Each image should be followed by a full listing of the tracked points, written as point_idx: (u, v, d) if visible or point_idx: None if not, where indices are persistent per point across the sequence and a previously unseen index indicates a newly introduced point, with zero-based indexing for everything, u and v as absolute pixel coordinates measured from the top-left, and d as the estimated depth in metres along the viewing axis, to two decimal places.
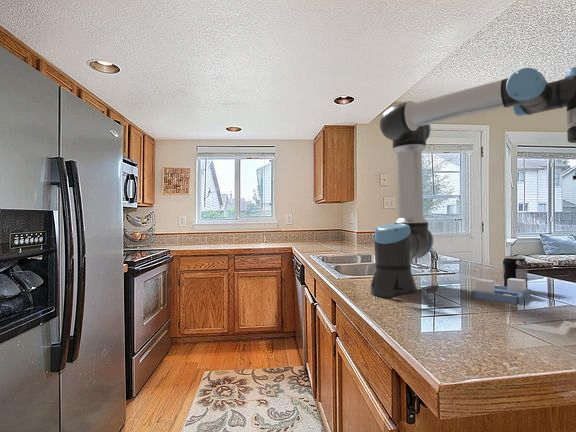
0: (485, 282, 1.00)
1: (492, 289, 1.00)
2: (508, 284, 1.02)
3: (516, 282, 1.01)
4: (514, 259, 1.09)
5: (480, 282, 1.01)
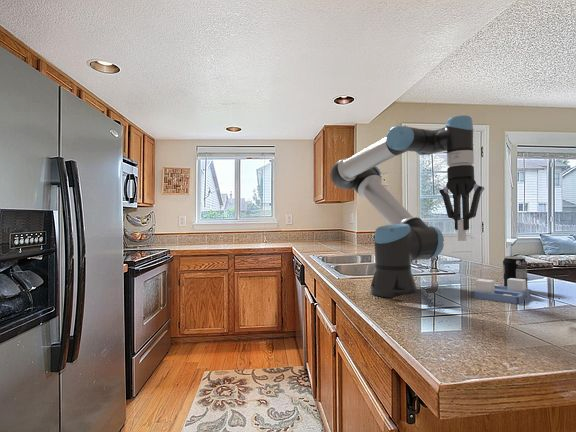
0: (485, 282, 1.00)
1: (492, 289, 1.00)
2: (508, 284, 1.02)
3: (516, 282, 1.01)
4: (514, 259, 1.09)
5: (480, 282, 1.01)
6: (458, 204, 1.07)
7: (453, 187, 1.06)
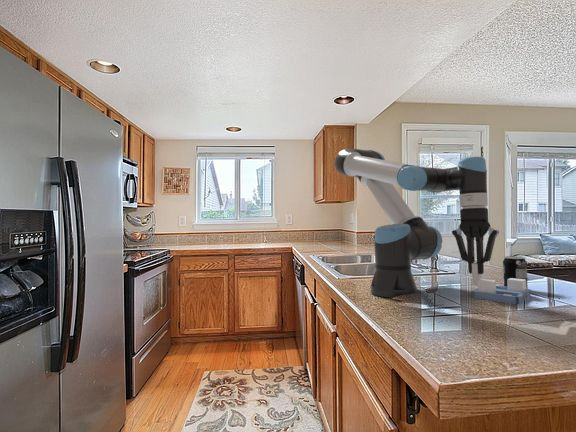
0: (486, 282, 1.00)
1: (494, 289, 1.00)
2: (508, 284, 1.02)
3: (516, 282, 1.01)
4: (514, 259, 1.09)
5: (481, 282, 1.01)
6: (472, 246, 1.04)
7: (467, 229, 1.03)
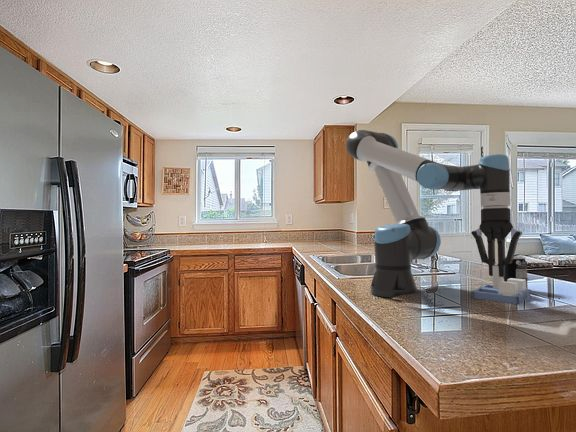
0: (508, 285, 0.96)
1: (515, 292, 0.96)
2: None
3: (516, 282, 1.01)
4: (514, 259, 1.09)
5: (503, 285, 0.97)
6: (493, 248, 1.00)
7: (488, 230, 0.99)
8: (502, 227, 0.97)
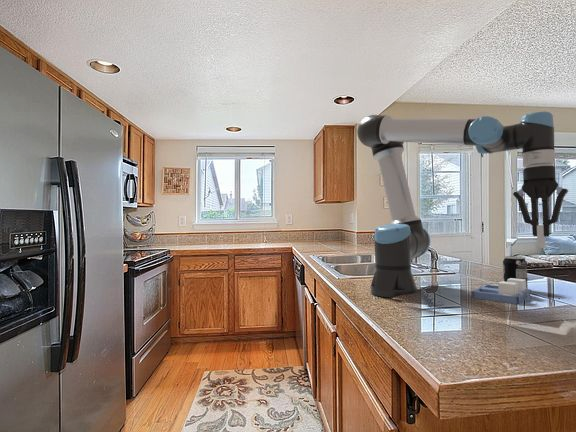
0: (508, 285, 0.96)
1: (515, 292, 0.96)
2: None
3: (516, 282, 1.01)
4: (514, 259, 1.09)
5: (503, 285, 0.97)
6: (537, 208, 0.98)
7: (531, 190, 0.98)
8: (547, 185, 0.96)
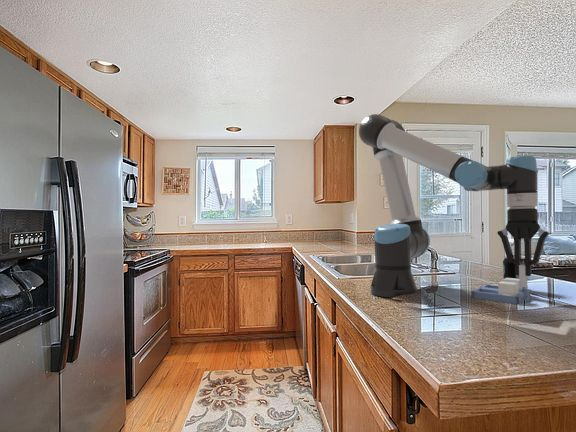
0: (508, 285, 0.96)
1: (515, 292, 0.96)
2: None
3: (512, 281, 1.01)
4: None
5: (503, 285, 0.97)
6: (520, 248, 1.01)
7: (514, 230, 1.01)
8: (529, 227, 0.99)
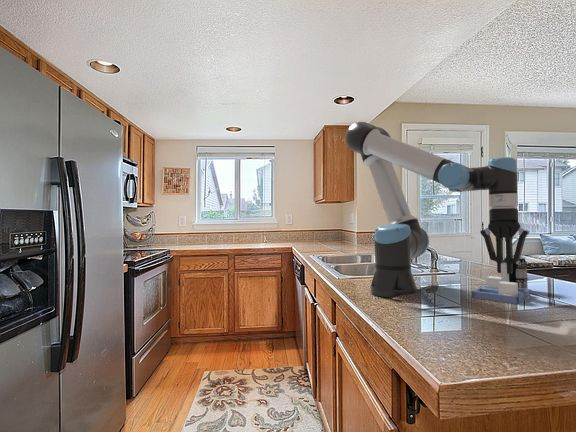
0: (508, 285, 0.96)
1: (515, 292, 0.96)
2: (487, 282, 1.06)
3: (494, 279, 1.05)
4: None
5: (503, 285, 0.97)
6: (501, 246, 1.05)
7: (496, 229, 1.04)
8: (510, 226, 1.02)
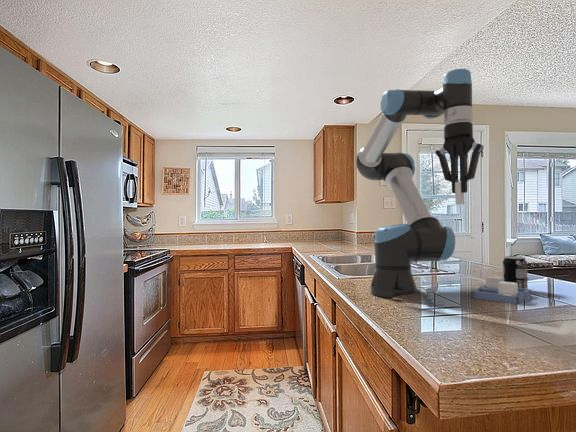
0: (508, 285, 0.96)
1: (515, 292, 0.96)
2: (487, 282, 1.06)
3: (494, 279, 1.05)
4: (514, 259, 1.09)
5: (503, 285, 0.97)
6: (456, 165, 1.00)
7: (450, 147, 0.99)
8: (464, 142, 0.97)
